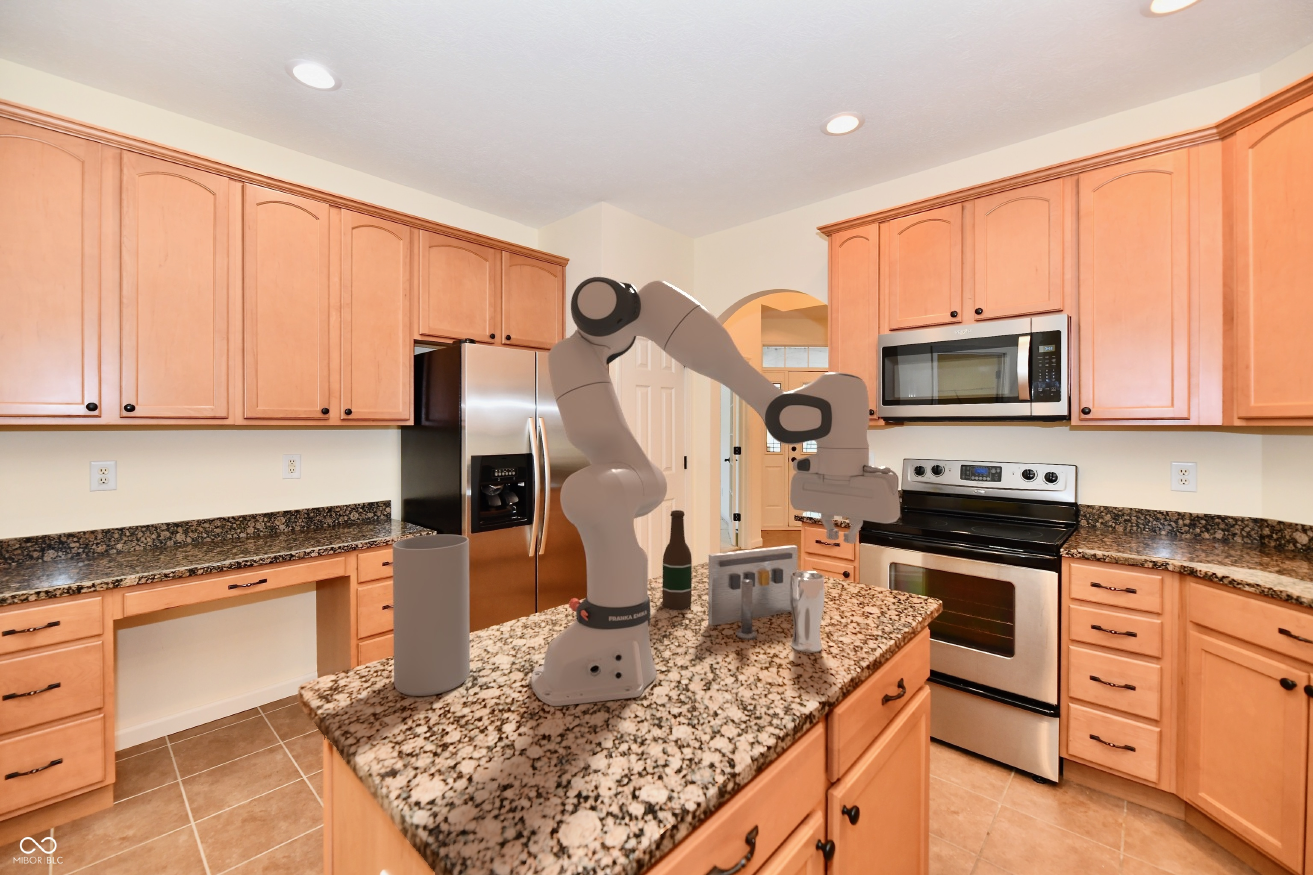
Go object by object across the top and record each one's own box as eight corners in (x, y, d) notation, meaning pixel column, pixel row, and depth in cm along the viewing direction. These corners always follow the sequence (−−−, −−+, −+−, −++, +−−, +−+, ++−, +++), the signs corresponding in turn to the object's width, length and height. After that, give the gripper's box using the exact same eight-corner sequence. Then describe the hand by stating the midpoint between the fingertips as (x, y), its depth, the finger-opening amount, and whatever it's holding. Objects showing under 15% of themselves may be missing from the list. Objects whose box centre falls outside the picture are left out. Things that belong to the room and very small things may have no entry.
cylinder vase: (484, 675, 100) (483, 539, 99) (422, 705, 89) (421, 553, 89) (441, 659, 107) (440, 531, 106) (379, 685, 96) (377, 543, 96)
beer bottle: (657, 601, 142) (658, 509, 141) (686, 599, 144) (686, 507, 143) (667, 611, 134) (667, 514, 134) (697, 608, 137) (697, 512, 136)
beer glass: (810, 657, 109) (811, 581, 108) (782, 645, 114) (782, 574, 114) (830, 647, 113) (831, 575, 113) (802, 637, 118) (803, 568, 118)
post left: (743, 640, 116) (744, 584, 116) (732, 633, 120) (732, 579, 120) (761, 637, 118) (761, 582, 118) (749, 630, 122) (749, 577, 122)
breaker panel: (713, 627, 124) (714, 556, 124) (708, 623, 127) (708, 554, 126) (799, 612, 134) (800, 547, 134) (792, 609, 136) (793, 545, 136)
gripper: (908, 466, 92) (906, 549, 92) (806, 460, 108) (805, 530, 108) (888, 468, 88) (887, 554, 88) (785, 461, 104) (784, 534, 104)
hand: (841, 541), depth 98 cm, fingers open, 2 cm apart
